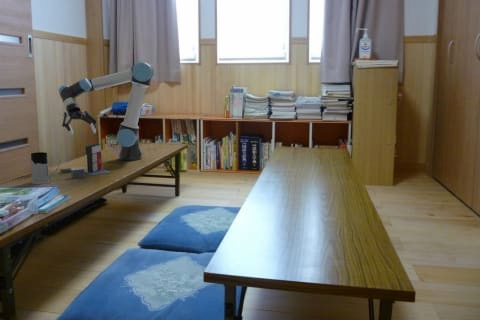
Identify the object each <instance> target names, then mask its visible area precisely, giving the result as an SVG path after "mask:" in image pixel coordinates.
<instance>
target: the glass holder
mask: <svg viewBox="0 0 480 320" xmlns="http://www.w3.org/2000/svg"><path fill="white" fill-rule="evenodd" d="M53 157H58V158H59V161H61V157H60V156H59V155H57V154H54V155H52V156H51V158H50V162H48V152H43V151H42V152H39V151H38V152H32V153H31V154H30V165H31V166H30V167H31V179H32V181H31V184H32V183H33V184H32V185H44V184H45V183H46V184H49V183H51V181H50V178H51V176H52V175H53V174H54V173H55V172H56V171H58V170H59V168H60V165H61V162H59V163H58V166H57V168H56V169H55V170H54V171H53V172H51V174H50V173H49V165H50V164H52V160H53Z"/></svg>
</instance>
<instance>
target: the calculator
mask: <svg viewBox="0 0 480 320" xmlns="http://www.w3.org/2000/svg"><path fill="white" fill-rule="evenodd" d="M101 149H102V148H101V144H100V143H92V144H89V145H87V146H85V154H86V163H87V165H86V166H87V168H86V169H88V173H93V172H96V171H98V170H100V169H103V165H102V164H103V163H102V152H101V151H102V150H101Z"/></svg>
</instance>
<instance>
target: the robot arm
mask: <svg viewBox="0 0 480 320" xmlns="http://www.w3.org/2000/svg"><path fill="white" fill-rule="evenodd" d="M154 72H155V71H154V68H153V67H152V65H150V64H149V63H148V62H145V61H139V62H137V63H136V64H135V65H133V67H130V69H127V70H124V71H123V70H122V71H119V72H115V73H112V74H108V75H102V76H99V77H95V78H91V79H88V78H87V77H84V78H82V79H81V78H80V79H79V80H78V81H77V82H75V83H73V84H72V85H67V84H64V85H61V86H60V87H59V88H58V93H59V96H60V99H61V100H62V102H63V105H64V107H65V109H66V111H64V112H63V119H62V120H63V121H62V124H61V127H63V128H65V129H66V130H67V131H68V132H69V133H70V136H71V137H73V136H74V134H75V133H74V130H73V128H72V126H71V123H72V121H73V120H81V121H84V122H85V123H87V124H89V125H90V129H91V131H92V132H93V135H96V133H97V130H96V127H97V126H96V123H97V120H96V119H94V118H93V116H91V115H90V114H89V113H88V111H86V110H85V111H82V110H81V108H80V105H79V103H78V101H77V99H76V98H77V97H79V96H81V95H83V94H85V93H86V94H87V93H91V92H95V91H98V90H102V89H106V88H111V87H114V86H119V85H123V84H127V83H130V82H131V84H132V86H131V91H130V94H129V98H128V99H129V100H128V103H127V106H126V112H125V115H124V119H123V122H121V123H120V126H119V130H118V132H117V134H116V140H117V142H118V144H119V145H120V150H119V154H118V160H121V161H139V160H142V159H143V154H142V152H141V149H140V138H139V137H140V136H139V131H140V126H139V125H138V123H139V119H140V116H141V111H142V108H143V103H144V99H145V95H146V92H147V91H146V90H147V88H149V87H150V85H151V81H152V78H153V76H154ZM67 117H69V118H68V120H67Z"/></svg>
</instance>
